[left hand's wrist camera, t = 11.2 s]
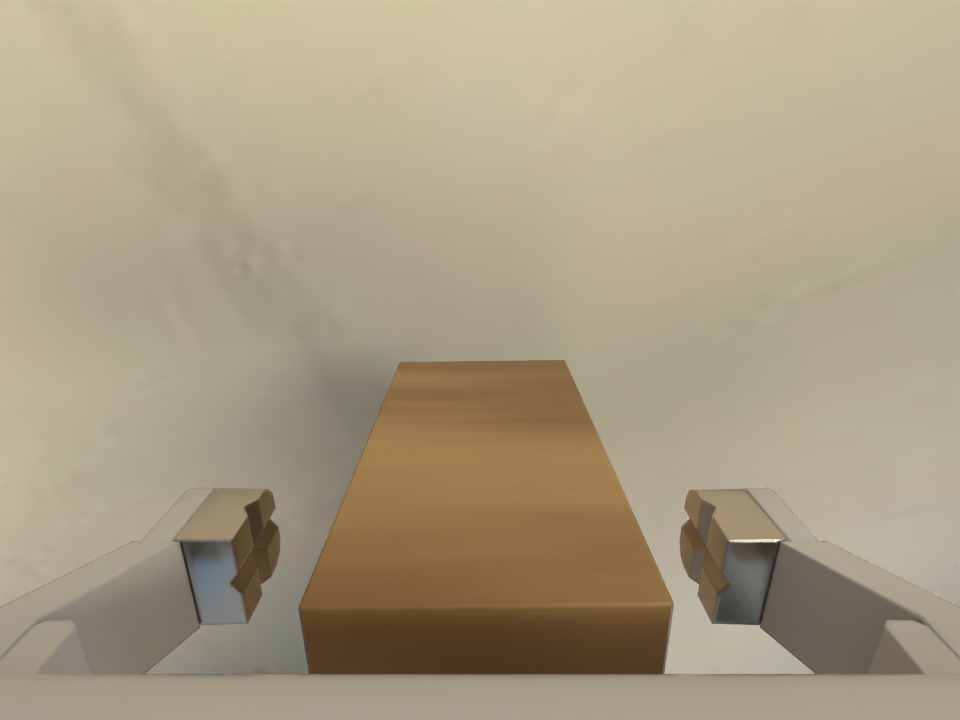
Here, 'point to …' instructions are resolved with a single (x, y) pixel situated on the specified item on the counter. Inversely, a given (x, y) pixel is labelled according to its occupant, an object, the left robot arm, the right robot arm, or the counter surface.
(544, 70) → the counter surface
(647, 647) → the bar
